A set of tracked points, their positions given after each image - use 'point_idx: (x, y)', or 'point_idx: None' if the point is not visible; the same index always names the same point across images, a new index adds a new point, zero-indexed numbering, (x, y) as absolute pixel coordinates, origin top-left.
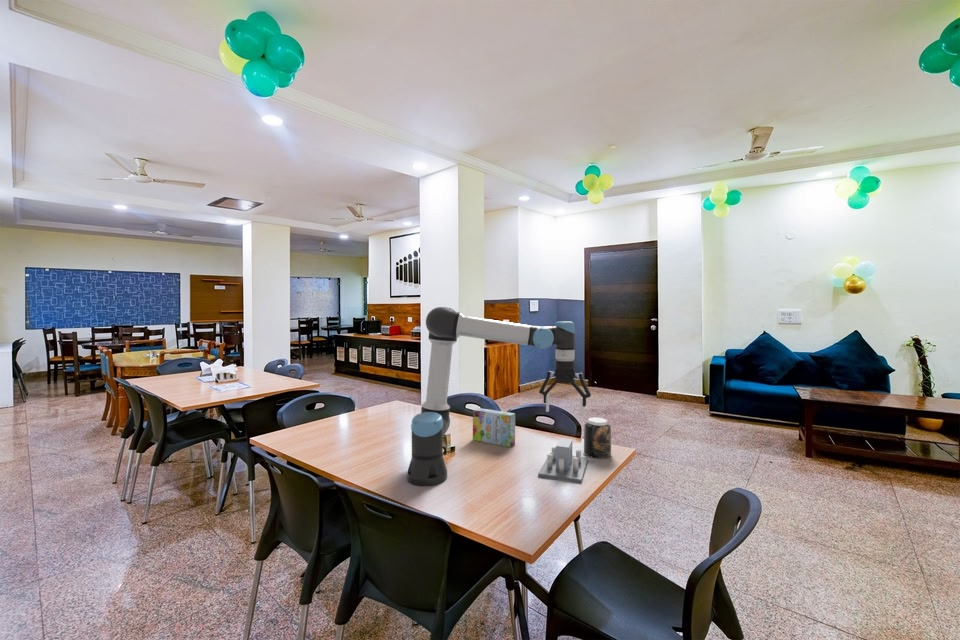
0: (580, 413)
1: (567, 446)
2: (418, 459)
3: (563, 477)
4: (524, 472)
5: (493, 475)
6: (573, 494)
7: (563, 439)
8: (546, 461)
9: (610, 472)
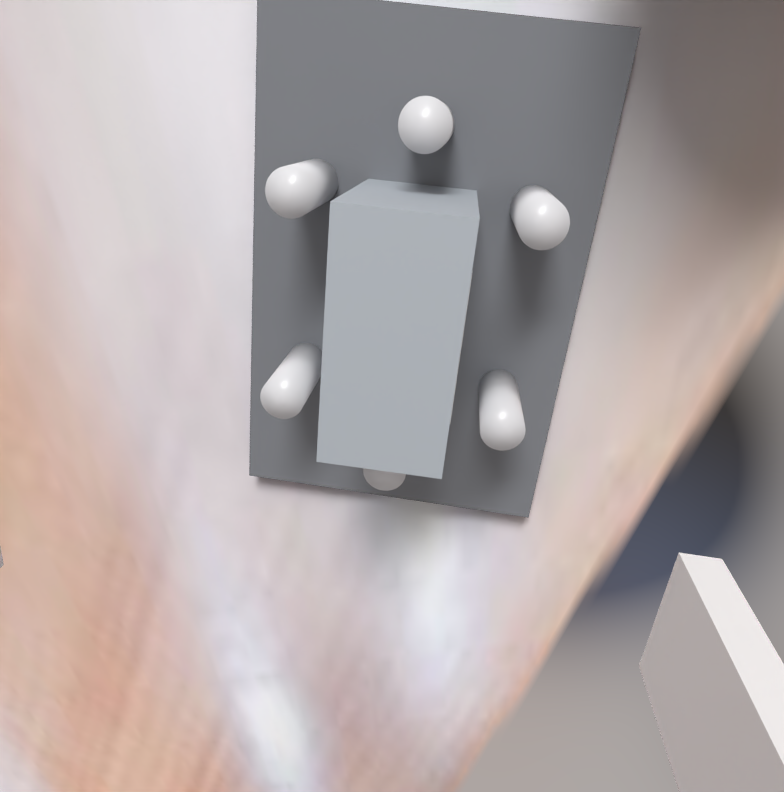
0: (649, 693)
1: (426, 455)
2: None
3: (414, 498)
4: (158, 421)
5: (6, 496)
6: (474, 637)
7: (373, 234)
8: (263, 246)
9: (781, 289)
